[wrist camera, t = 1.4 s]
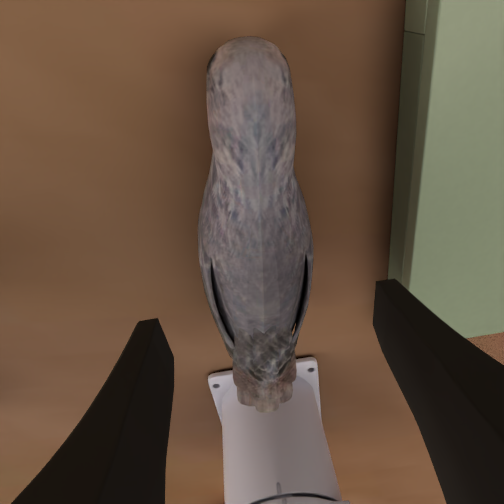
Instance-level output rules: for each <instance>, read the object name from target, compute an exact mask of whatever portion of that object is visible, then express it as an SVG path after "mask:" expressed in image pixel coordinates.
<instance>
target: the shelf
mask: <svg viewBox="0 0 504 504" xmlns="http://www.w3.org/2000/svg"><path fill="white" fill-rule="evenodd" d="M404 30H405V32H404V41H403V56H402V71H401V86H400V102H399V117H398V132H397V147H396V162H395V178H394V193H393V208H392V223H391V239H390V254H389V269H388V279H394V278H395V279H396V280H398V281H399V282H400V283H401V284H402V285H403V286H404V287H405V288H406V289H407V290H408V291H410V292H411V293H412V294H413V295H414V296H415V297H416V298H417V299H418V300H420V301H421V302H422V303H423V304H424V305H425V306H426V307H427V308H429V309H430V310H431V311H432V312H433V313H434V314H436V315H437V316H438V317H439V318H440V319H442V320H443V321H444V322H445V323H446V324H448V325H449V326H450V327H451V328H453V329H454V330H455V331H456V332H458V333H459V334H460V335H462V336H463V337H464V338H471V337H477V336H483V335H489V334H494V333H500V332H504V0H406V9H405V25H404Z"/></svg>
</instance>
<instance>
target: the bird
mask: <svg viewBox="0 0 504 504" xmlns="http://www.w3.org/2000/svg"><path fill="white" fill-rule="evenodd" d="M207 115H208V127H209V133H210V139H211V143H212V148H213V154H212V160H211V166H210V171H209V175H208V179H207V182H206V186H205V190H204V194H203V201H202V205H201V208H200V213H199V220H198V251H199V262H200V268H201V274H202V279H203V285H204V290H205V294H206V297H207V300H208V304H209V307H210V310H211V313H212V315H213V318H214V320H215V322H216V325H217V327H218V329H219V332H220V334H221V336H222V339H223V341H224V344H225V346H226V349H227V351H228V353H229V355H230V357H231V358H232V359H233V381H234V384H235V385H236V386H237V398H238V401H239V402H240V403H241V404H243V405H246V406H255V408H256V410H257V411H258V412H260V413H269V412H273V411H276V410H277V409H278V408H279V404H281V403H285V402H287V401H288V400H290V399H291V397H292V394H293V384H292V382H293V381H295V379H296V373H297V369H296V357H295V347H296V344H297V340H298V335H299V331H300V328H301V326H302V323H303V320H304V317H305V313H306V310H307V307H308V302H309V296H310V289H311V280H312V268H313V239H312V232H311V227H310V222H309V217H308V213H307V209H306V205H305V201H304V197H303V194H302V192H301V189H300V186H299V184H298V181H297V179H296V176H295V171H294V167H293V162H294V152H295V142H296V113H295V103H294V94H293V87H292V80H291V74H290V68H289V65H288V63H287V60H286V58H285V56H284V55H283V54H282V53H281V51H280V50H279V49H278V47H277V46H276V45H274V44H273V43H271V42H269V41H266V40H264V39H262V38H259V37H252V36H247V37H238V38H234V39H231V40H229V41H227V42H226V43H225V44H224V45H223V46H221V47H219V48H218V49H217V51H216V52H215V53H214V54H213V56H212V57H211V59H210V61H209V63H208V66H207ZM295 323H296V326H295ZM294 326H295V332H294V334H293V336H292V331H293V329H294Z"/></svg>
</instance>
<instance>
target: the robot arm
mask: <svg viewBox="0 0 504 504" xmlns="http://www.w3.org/2000/svg"><path fill="white" fill-rule="evenodd" d="M373 326H374V329H375V332H376V335H377V338H378V341H379V344H380V346H381V349H382V352H383V354H384V356H385V358H386V360H387V362H388V364H389V366H390V368H391V371H392V373H393V375H394V377H395V379H396V381H397V383H398V385H399V387H400V389H401V391H402V393H403V395H404V397H405V399H406V401H407V403H408V405H409V407H410V409H411V411H412V413H413V415H414V417H415V420H416V422H417V424H418V426H419V429H420V431H421V434H422V437H423V439H424V442H425V445H426V447H427V450H428V452H429V455H430V458H431V461H432V463H433V466H434V469H435V472H436V474H437V477H438V480H439V483H440V485H441V488H442V491H443V494H444V497H445V500H446V503H447V504H504V365H503V364H501V363H500V362H498V361H496V360H495V359H493V358H492V357H490V356H489V355H488V354H486V353H485V352H483V351H482V350H480V349H479V348H478V347H476V346H475V345H474V344H472V343H471V342H470V341H468V340H467V339H466V338H464V337H463V336H462V335H460V334H459V333H458V332H456V331H455V330H454V329H453V328H451V327H450V326H449V325H448V324H446V323H445V322H444V321H443V320H442V319H440V318H439V317H438V316H437V315H436V314H434V313H433V312H432V311H431V310H430V309H429V308H427V307H426V306H425V305H424V304H423V303H422V302H421V301H420V300H418V299H417V298H416V297H415V296H414V295H413V294H412V293H411V292H410V291H408V290H407V289H406V288H405V287H404V286H403V285H402V284H401V283H400V282H399V281H398V280H396V279H395V278H394V279H388V280H382V281H376V289H375V301H374V314H373ZM296 369H297V373H296V379H295V381H293V382H292V384H293V394H292V397H291V399H290V400H288V401H287V402H285V403H281V404H279V408H278V409H277V410H276V411H273V412H269V413H260V412H258V411H257V410H256V408H255V406H246V405H243V404H241V403H240V402H239V401H238V398H237V386H236V385H235V384H234V381H233V370H230V371H224V372H218V373H213V374H210V375H209V376H208V384H209V387H210V390H211V393H212V396H213V399H214V402H215V405H216V408H217V411H218V415H219V418H220V421H221V424H222V431H223V465H224V499H225V504H350V502H349V501H342V497H341V494H340V490H339V486H338V482H337V478H336V474H335V471H334V467H333V463H332V459H331V455H330V452H329V448H328V444H327V440H326V436H325V432H324V429H323V425H322V419H321V406H320V392H319V379H318V366H317V361H316V359H315V358H314V357H306V358H301V359H296ZM173 392H174V356H173V354H172V351H171V349H170V347H169V344H168V342H167V339H166V337H165V335H164V332H163V330H162V328H161V325H160V323H159V320H158V318H155V319H149V320H143V321H139V322H138V323H137V325H136V327H135V329H134V331H133V333H132V335H131V337H130V339H129V341H128V342H127V344H126V346H125V348H124V350H123V352H122V354H121V356H120V357H119V359H118V361H117V363H116V365H115V366H114V368H113V370H112V372H111V373H110V375H109V377H108V378H107V380H106V382H105V384H104V385H103V387H102V388H101V390H100V391H99V393H98V395H97V396H96V398H95V399H94V401H93V402H92V404H91V406H90V407H89V409H88V410H87V412H86V413H85V414H84V416H83V417H82V419H81V420H80V422H79V423H78V424H77V426H76V427H75V429H74V430H73V431H72V433H71V434H70V435H69V437H68V438H67V439H66V441H65V442H64V443H63V444H62V446H61V447H60V448H59V449H58V451H57V452H56V453H55V454H54V456H53V457H52V458H51V459H50V461H49V462H48V463H47V464H46V465H45V467H44V468H43V469H42V470H41V471H40V472H39V474H38V475H37V476H36V477H35V478H34V479H33V480H32V481H31V482H30V483H29V485H28V486H27V487H26V488H25V489H24V490H23V491H22V492H21V493H20V494H19V495H18V497H17V498H16V499H15V500H14V501H13V502H12V503H11V504H165V468H166V455H167V446H168V437H169V428H170V420H171V411H172V402H173Z"/></svg>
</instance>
